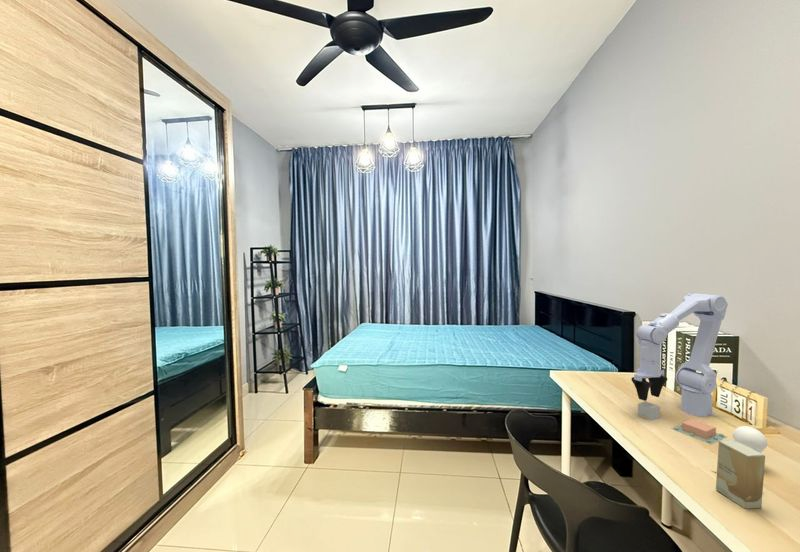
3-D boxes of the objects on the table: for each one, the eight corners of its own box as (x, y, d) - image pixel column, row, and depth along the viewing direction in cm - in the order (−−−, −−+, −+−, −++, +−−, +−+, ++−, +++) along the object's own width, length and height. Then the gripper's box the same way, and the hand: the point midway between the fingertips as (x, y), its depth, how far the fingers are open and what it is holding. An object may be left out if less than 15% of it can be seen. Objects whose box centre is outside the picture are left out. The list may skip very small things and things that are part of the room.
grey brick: (645, 414, 114) (645, 401, 114) (659, 420, 110) (659, 406, 110) (637, 417, 112) (638, 403, 112) (652, 422, 108) (652, 408, 108)
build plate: (687, 424, 106) (687, 420, 106) (727, 439, 97) (727, 435, 97) (671, 431, 102) (671, 427, 102) (711, 447, 93) (711, 442, 93)
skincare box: (714, 489, 75) (716, 439, 75) (731, 488, 76) (732, 438, 75) (746, 510, 69) (748, 455, 68) (764, 509, 69) (766, 454, 69)
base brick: (691, 426, 104) (691, 418, 104) (715, 435, 98) (715, 427, 98) (681, 430, 101) (682, 422, 101) (706, 439, 96) (706, 431, 96)
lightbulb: (773, 477, 80) (775, 434, 79) (744, 474, 81) (746, 432, 81) (752, 462, 86) (753, 423, 85) (725, 459, 87) (726, 420, 87)
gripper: (648, 354, 117) (647, 390, 117) (625, 359, 111) (624, 396, 111) (671, 359, 110) (670, 397, 111) (647, 364, 104) (646, 404, 105)
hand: (648, 397), depth 111 cm, fingers open, 7 cm apart
